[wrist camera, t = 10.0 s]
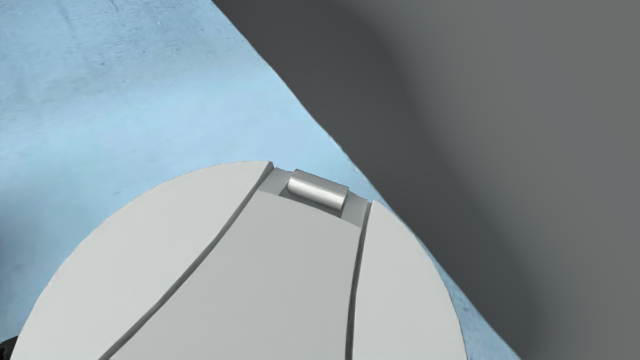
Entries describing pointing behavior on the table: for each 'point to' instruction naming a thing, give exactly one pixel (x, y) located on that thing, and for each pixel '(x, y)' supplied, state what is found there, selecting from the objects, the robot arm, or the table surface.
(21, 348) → the coffee cup
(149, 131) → the table surface
